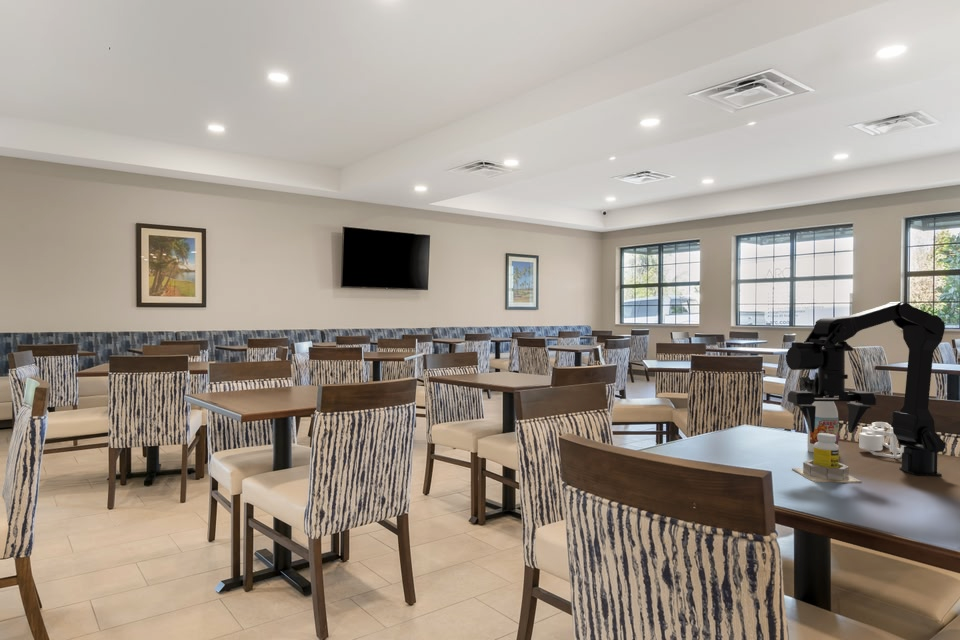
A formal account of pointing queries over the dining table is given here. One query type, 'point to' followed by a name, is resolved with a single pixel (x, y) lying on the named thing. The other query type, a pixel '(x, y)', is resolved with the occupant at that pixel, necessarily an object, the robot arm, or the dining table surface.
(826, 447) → the supplement bottle
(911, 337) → the robot arm
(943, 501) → the dining table surface
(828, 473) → the octagonal ring stand
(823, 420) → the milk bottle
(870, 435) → the skeletal toy car
